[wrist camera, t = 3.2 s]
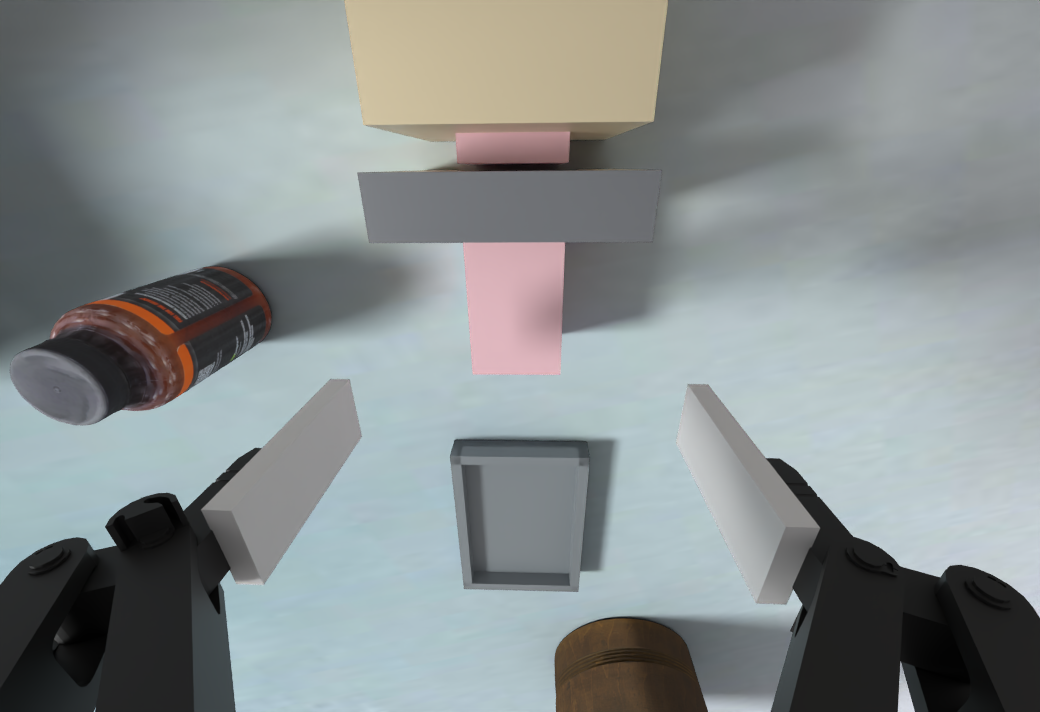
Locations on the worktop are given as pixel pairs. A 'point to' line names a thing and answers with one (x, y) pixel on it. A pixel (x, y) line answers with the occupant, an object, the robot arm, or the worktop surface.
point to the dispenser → (508, 115)
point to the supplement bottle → (142, 345)
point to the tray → (520, 513)
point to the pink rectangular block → (515, 306)
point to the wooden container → (625, 669)
